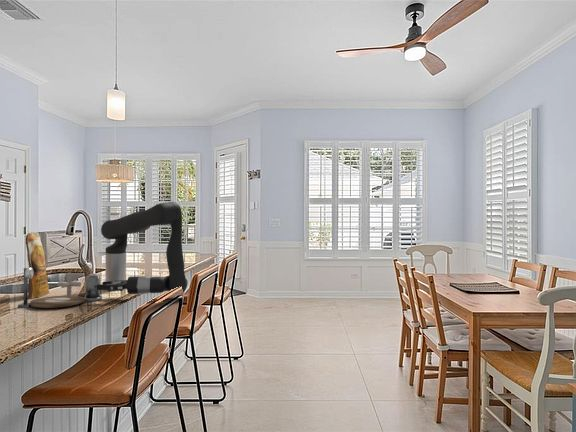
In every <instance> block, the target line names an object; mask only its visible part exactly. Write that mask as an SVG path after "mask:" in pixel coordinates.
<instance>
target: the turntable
mask: <svg viewBox="0 0 576 432" xmlns="http://www.w3.org/2000/svg"><path fill="white" fill-rule="evenodd" d="M84 302H85V301H84V297H83V296H80V295H71V296H67V295H52V296H45V297H44V296H43V297H38V298H33V299H32V300H30V301H29V303H30V306H31V308H38V309H58V308H65V307H66V308H67V307H72V306H76V305H80V304H82V303H84Z"/></svg>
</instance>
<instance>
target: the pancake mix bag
mask: <svg viewBox="0 0 576 432" xmlns="http://www.w3.org/2000/svg"><path fill="white" fill-rule="evenodd" d="M41 240H42V239H41V234H40V232H28V233H27V234H26V235H25V246H26V247H25V248H26V251H27V262H28V268H33V277H32V279H28V299H38V298H42V297H44V296H46V295H48V294H49V293H50V286H49V281H48V277H47V267H46V258H45V251H44V247H43V243H42V241H41ZM43 295H44V296H43Z"/></svg>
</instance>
